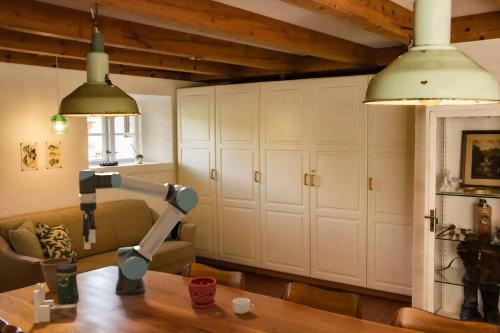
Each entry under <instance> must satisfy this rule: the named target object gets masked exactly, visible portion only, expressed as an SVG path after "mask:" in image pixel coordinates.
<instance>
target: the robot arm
mask: <svg viewBox="0 0 500 333" xmlns="http://www.w3.org/2000/svg"><path fill="white" fill-rule="evenodd" d="M78 188H79V191H78V192H79V195H78V198H79V202H80V204H79V207H80V209H79V210H80V211H81V212H84V213H83V215H82V216H83V217H82V220H83V221H82V223H83V224H82V233H81V236H83V249H84V250H90V249H91V244H95V243H97V242H96V230H97V228H98V226H97V225H96V218H95V217H96V216H95V211H96V210H97V202H96V201H97V190H99V189H100V190H102V189H105V190H106V189H117V190H123V191H125V192H126V191H127V192H131V193H136V194H141V195H144V196H150V197H153V198H158V199H161V200H162V201H163V202H167V203H166V204H167V206H166V207H167V208H166V209H165V210H164V211H163V213H162V214H161V215H160V216H159V218H158V219H157V220H156V222H155V223H154V224H153V226H152V227H151V228H150V230H149V231H148V232H147V234H146V235H145V236H144V237H143V239H142V240H141V241H140V243H139V244H138V245H135V246H126V247H125V246H124V247H120V248H118V249H117V253H116V255H117V271H118V277H117V281H116V285H115V294H117V295H120V296H121V295H122V296H129V295H130V296H131V295H138V294H140V293H143V292H145V290H146V284H145V282H144V279H143V278H144V276H145V275H146V273H147V272H148V267H149V266H150V264H151V263H152V261H153V255H154V254H155V253H156V252H157V250H158V249H159V247H160V246H161V244H162V243H163V242H164V241H165V240H166V238H167V237H168V235H169V234H170V233H171V231H172V230H173V229H174V227H175V226H176V225H177V224H178V222H179V221H180V219H181V218H184V217H187V216H188V214H189V213H190V211H192V210H194V209H196V207H197V206H198V204H199V194H198V192H197V191H196V190H195V188H193V187H192V186H191V187H190V186H188V185H184V184H177V183H176V184H175V183H168V182H166V183H165V184H164V183H161V182H156V181H151V180H147V179H143V178H139V177H133V176H129V175H126V174H121V173H120V172H116V171H115V172H112V171H109V170H103V171H101V172H99V173H97V172H96V170H95V169H80V171H79V172H78Z"/></svg>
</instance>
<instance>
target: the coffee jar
mask: <svg viewBox="0 0 500 333" xmlns="http://www.w3.org/2000/svg"><path fill="white" fill-rule="evenodd" d="M56 275H57V277H58V292H57V302H58V303H60V304H72V303H76V302H77V301H78V300H79V299H80V297H79V296H80V294H79V289H78V283H77V282H78V281H77V276H78V266H77V264H75V263H70V264H61V265H58V266H57V270H56Z"/></svg>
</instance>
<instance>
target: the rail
mask: <svg viewBox="0 0 500 333" xmlns="http://www.w3.org/2000/svg"><path fill="white" fill-rule="evenodd" d="M77 307H78V304H63V305H54V306H50V321H54V320H66V319H67V320H68V319H69V320H70V319H76V317H77V316H78V308H77Z"/></svg>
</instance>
